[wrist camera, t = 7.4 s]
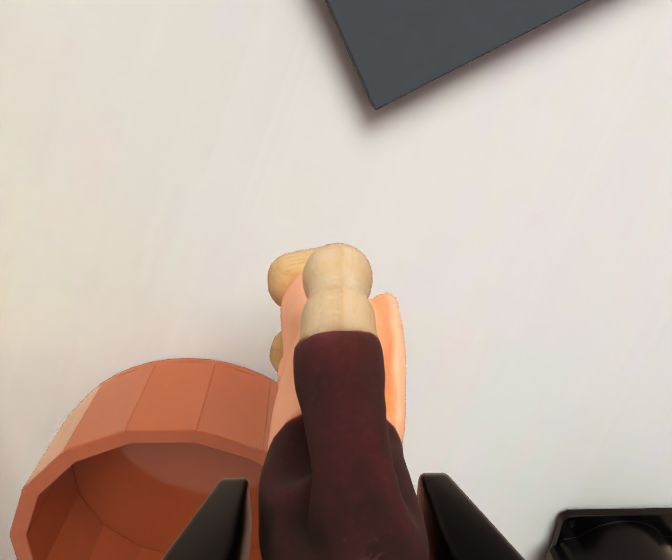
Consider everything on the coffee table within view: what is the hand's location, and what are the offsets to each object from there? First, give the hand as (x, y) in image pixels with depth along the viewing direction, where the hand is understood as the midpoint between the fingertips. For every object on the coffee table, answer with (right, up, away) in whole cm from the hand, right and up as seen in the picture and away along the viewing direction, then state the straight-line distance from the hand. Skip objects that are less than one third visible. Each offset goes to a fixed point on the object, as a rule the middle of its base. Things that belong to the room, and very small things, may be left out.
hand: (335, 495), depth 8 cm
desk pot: (-6, -5, +17) cm, 18 cm away
